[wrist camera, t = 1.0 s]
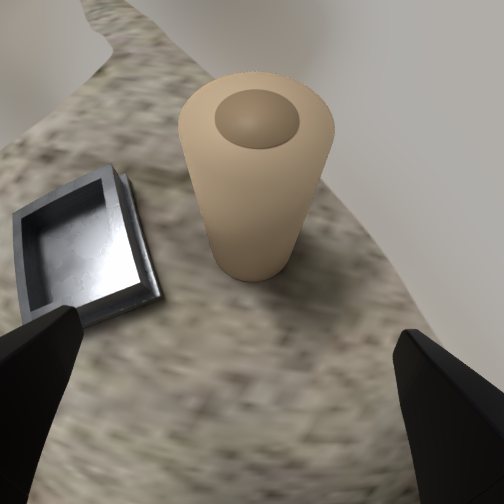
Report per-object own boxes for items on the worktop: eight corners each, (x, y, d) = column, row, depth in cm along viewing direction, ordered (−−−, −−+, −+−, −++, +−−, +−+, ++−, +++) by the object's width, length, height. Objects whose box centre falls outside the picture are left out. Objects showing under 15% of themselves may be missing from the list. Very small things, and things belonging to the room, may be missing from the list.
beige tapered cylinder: (305, 263, 23) (364, 153, 11) (229, 294, 22) (206, 205, 10) (272, 196, 25) (290, 60, 12) (200, 222, 24) (162, 92, 12)
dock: (163, 298, 22) (149, 286, 19) (46, 342, 20) (20, 337, 17) (129, 179, 25) (115, 156, 22) (29, 227, 24) (8, 211, 20)
